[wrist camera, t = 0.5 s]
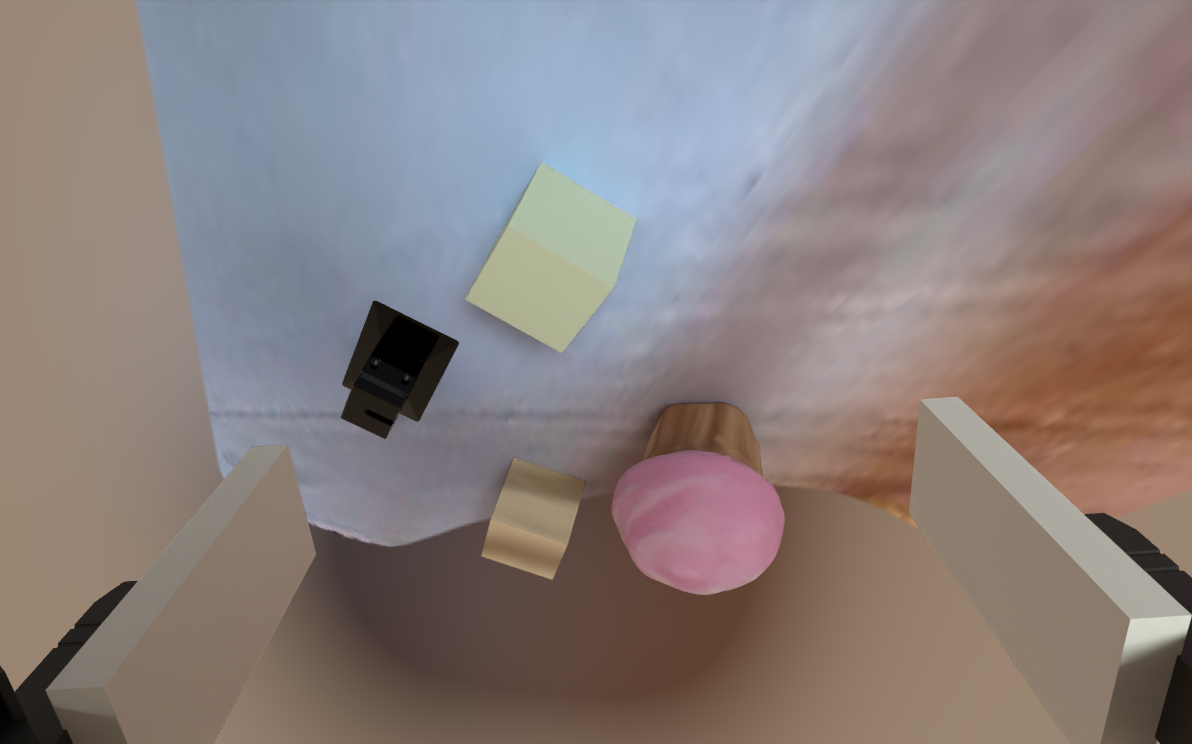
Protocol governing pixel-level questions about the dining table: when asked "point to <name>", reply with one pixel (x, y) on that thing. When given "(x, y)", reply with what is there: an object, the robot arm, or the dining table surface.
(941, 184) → the dining table surface
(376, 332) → the black piece
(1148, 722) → the robot arm
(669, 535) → the cupcake
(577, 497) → the birch block
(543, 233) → the sage block
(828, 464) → the dining table surface
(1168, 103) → the dining table surface
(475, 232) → the dining table surface
